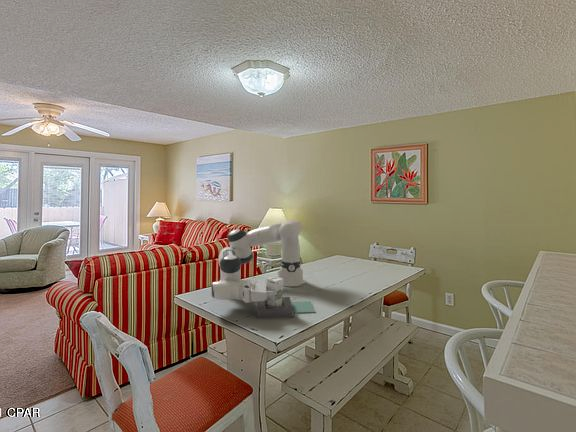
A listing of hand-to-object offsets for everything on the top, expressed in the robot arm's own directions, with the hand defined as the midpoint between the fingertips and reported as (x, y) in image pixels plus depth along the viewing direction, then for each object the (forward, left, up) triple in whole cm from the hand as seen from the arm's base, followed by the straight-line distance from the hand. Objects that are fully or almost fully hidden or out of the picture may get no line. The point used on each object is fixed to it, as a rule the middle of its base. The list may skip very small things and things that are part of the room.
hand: (276, 289), depth 143 cm
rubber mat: (-4, +13, -10) cm, 17 cm away
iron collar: (0, -1, -10) cm, 10 cm away
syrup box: (0, -1, -9) cm, 9 cm away
